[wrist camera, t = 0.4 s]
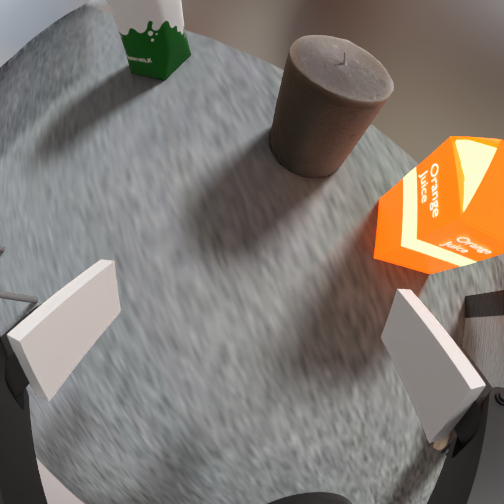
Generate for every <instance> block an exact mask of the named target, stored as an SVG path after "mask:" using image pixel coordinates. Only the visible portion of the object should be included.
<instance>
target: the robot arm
mask: <svg viewBox="0 0 504 504" xmlns="http://www.w3.org/2000/svg"><path fill="white" fill-rule="evenodd" d="M120 312H121V308H120V302H119V295H118V288H117V281H116V273H115V264H114V261H111V260H103V259H101V260H100V261H98V262H97V263H95V264H94V265H93V266H91V267H90V268H88V269H87V270H86V271H84V272H83V273H82V274H80V275H79V276H78V277H76V278H75V279H74V280H72V281H71V282H70V283H68V284H67V285H66V286H64V287H63V288H62V289H61V290H59V291H58V292H57V293H55V294H54V295H53V296H52V297H50V298H49V299H48V300H47V301H45V302H44V303H43V304H41V305H39V306H37V307H35V308H34V309H33V310H32V311H30V312H29V314H27V315H26V316H24V317H23V319H22V320H20V321H19V322H17V323H16V324H15V325H14V326H13V327H12V328H11V329H9V330H8V331H7V332H6V333H5V334H4V335H3V336H2V337H0V504H47V500H46V497H45V494H44V490H43V486H42V483H41V479H40V474H39V470H38V465H37V461H36V455H35V450H34V444H33V437H32V429H31V420H30V409H29V395H28V391H27V390H26V387H27V385H28V384H29V383H30V385H31V387H32V389H33V391H34V392H35V394H36V395H38V396H40V397H42V398H43V399H45V400H47V401H49V402H50V400H51V399H52V398H53V396H54V395H55V393H56V392H57V391H58V389H59V388H60V387H61V385H62V384H63V383H64V381H65V380H66V379H67V377H68V376H69V375H70V373H71V372H72V371H73V370H74V368H75V367H76V366H77V364H78V363H79V362H80V361H81V359H82V358H83V357H84V356H85V354H86V353H87V352H88V351H89V349H90V348H91V347H92V346H93V344H94V343H95V342H96V341H97V339H98V338H99V337H100V336H101V335H102V333H103V332H104V331H105V330H106V328H107V327H108V326H109V325H110V324H111V323H112V321H113V320H114V319H115V318H116V317H117V315H118V314H119V313H120ZM381 339H382V341H383V343H384V345H385V347H386V349H387V351H388V353H389V355H390V357H391V359H392V361H393V363H394V365H395V367H396V369H397V371H398V373H399V375H400V378H401V380H402V382H403V384H404V386H405V388H406V390H407V393H408V395H409V397H410V399H411V401H412V404H413V406H414V408H415V411H416V413H417V415H418V418H419V420H420V422H421V425H422V427H423V430H424V432H425V434H426V437H427V439H428V442H429V443H432V442H435V441H439V440H442V439H445V438H446V437H447V436H448V434H449V433H450V432H451V431H452V430H453V429H454V430H455V432H456V435H455V436H454V438H453V439H452V440H451V441H450V442H449V443H448V444H447V445H446V446H445V447H444V448H443V450H442V451H441V453H444V452H445V451H446V450H447V449H448V448H449V451H448V453H447V454H446V455H447V456H446V459H445V462H444V465H443V468H442V470H441V473H440V475H439V478H438V480H437V483H436V485H435V487H434V490H433V492H432V494H431V496H430V499H429V501H428V503H427V504H504V388H503V387H494V388H492V386H491V385H490V383H489V382H488V381H487V379H486V378H485V376H484V375H483V373H482V372H481V371H480V369H479V368H478V367H477V366H475V363H474V361H473V360H472V359H470V358H471V357H470V356H469V355H468V353H467V352H466V351H465V349H463V348H462V347H461V346H459V345H458V344H457V343H456V342H454V341H453V339H452V338H451V337H450V336H449V334H448V333H447V332H446V331H445V329H444V328H443V327H442V326H441V325H440V323H439V322H438V321H437V320H436V318H435V317H434V316H433V315H432V314H431V313H430V311H429V310H428V309H427V308H426V307H425V306H424V304H423V303H422V302H421V301H420V300H419V299H418V298H417V296H416V295H415V294H414V293H413V292H412V291H411V290H410V289H397V291H396V294H395V297H394V301H393V304H392V307H391V310H390V313H389V316H388V319H387V321H386V324H385V327H384V330H383V333H382V335H381ZM270 504H352V503H351V502H350V501H349V500H348V499H346V498H345V497H343V496H340V495H337V494H333V493H325V492H314V493H304V494H298V495H293V496H289V497H286V498H282V499H279V500H277V501H274V502H272V503H270Z"/></svg>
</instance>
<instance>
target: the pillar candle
mask: <svg viewBox="0 0 504 504" xmlns="http://www.w3.org/2000/svg"><path fill="white" fill-rule="evenodd" d="M393 86H394V84H393V81H392V80H391V78H390V76H389V74H388V72H387V70H386V69H385V68H384V67H383V65H382V64H381V63H380V62H379V61H378V60H377V59H376V58H374V57H373V56H372V55H371V54H370V53H368V52H367V51H365V50H364V49H362V48H360V47H358V46H356V45H355V44H353V43H351V42H350V41H348V40H345V39H339V38H336V37H331V36H324V35H310V36H304V37H301V38H299V39H297V40H296V41H295V42H294V43H293V44H292V46H291V47H290V50H289V53H288V57H287V61H286V65H285V68H284V73H283V77H282V82H281V86H280V91H279V95H278V99H277V103H276V108H275V114H274V118H273V124H272V129H271V133H270V137H269V141H270V143H269V144H270V148H271V151H272V153H273V154H274V157H275V158H276V159H277V161H278V162H279V163H280V164H281V165H283V166H284V167H285V168H287V169H288V170H290V171H291V172H293V173H296V174H298V175H301V176H304V177H311V178H320V177H325V176H328V175H330V174H332V173H334V172H335V171H336V170H337V169H338V168H339V167H340V166H341V165H342V163H343V162H344V161H345V159H346V158H347V156H348V155H349V154H350V152H351V151H352V149H353V148H354V147H355V145H356V144H357V142H358V141H359V140H360V138H361V137H362V135H363V134H364V132H365V131H366V129H367V128H368V127H369V125H370V124H371V122H372V121H373V120H374V118H375V117H376V115H377V114H378V113H379V111H380V109H381V108H382V107H383V105H384V104H385V102H386V100H387V99H388V98H389V96H390V94H391V92H393V91H394V89H393Z"/></svg>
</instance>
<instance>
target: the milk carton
mask: <svg viewBox="0 0 504 504" xmlns="http://www.w3.org/2000/svg"><path fill="white" fill-rule="evenodd" d="M106 1H107V2H108V4H109V5H110V7H111V9H112V12H113V15H114V18H115V21H116V24H117V27H118V30H119V33H120V36H121V39H122V42H123V45H124V48H125V51H126V55H127V59H128V63H129V66H130V70H131V73H132V74H137V75H142V76H147V77H152V78H156V79H161V80H166V79H167V78H168V77H169V76H170V75H171V74H172V73H173V72H174V71H175V70H176V69H177V68H178V67H179V66H180V65H181V64H182V63H183V62H184V61H185V60H186V59H187V58H188V57H189V56H190V55H191V53H190V49H189V45H188V41H187V38H186V34H185V28H184V20H183V13H182V5H181V0H106Z"/></svg>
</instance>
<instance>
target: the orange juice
mask: <svg viewBox="0 0 504 504" xmlns="http://www.w3.org/2000/svg"><path fill="white" fill-rule="evenodd" d="M503 253H504V140H501V139H491V138H477V137H461V136H450V137H449V138H448V139H447V140H446V141H445V142H444V143H443V144H442V145H440V146H439V147H438V148H437V149H436V150H435V151H434V152H433V153H432V154H431V155H429V156H428V157H427V158H426V159H425V160H424V161H423V162H422V163H420V164H419V165H418V166H417V167H415V168H414V169H413V170H412V171H410V172H409V173H408V174H407V175H406V176H405V177H404V178H403V179H402V180H401V181H400V182H399V183H397V184H396V185H395V186H394V187H393V188H392V189H391V190H389V191H388V192H387V193H386V194H385V195H383V196H382V197H381V198H380V199H379V208H378V221H377V232H376V242H375V251H374V258H375V259H379V260H382V261H386V262H389V263H393V264H396V265H400V266H403V267H407V268H410V269H414V270H417V271H420V272H424V273H427V274H433V273H437V272H440V271H444V270H448V269H452V268H455V267H459V266H464V265H468V264H471V263H475V262H477V261H480V260H483V259H487V258H490V257H493V256H497V255H500V254H503Z"/></svg>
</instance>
